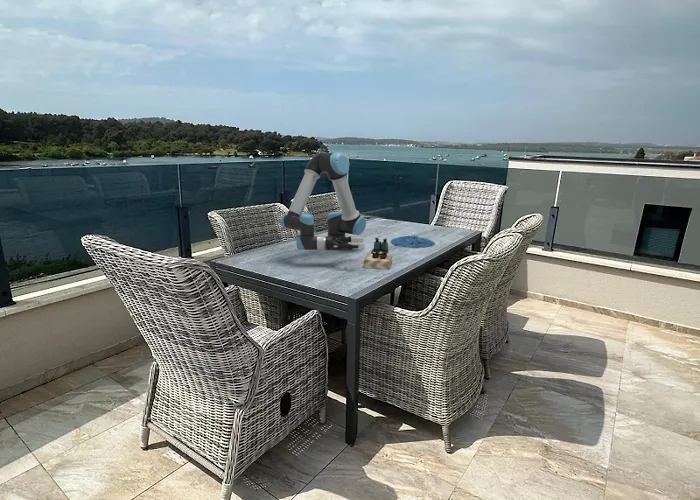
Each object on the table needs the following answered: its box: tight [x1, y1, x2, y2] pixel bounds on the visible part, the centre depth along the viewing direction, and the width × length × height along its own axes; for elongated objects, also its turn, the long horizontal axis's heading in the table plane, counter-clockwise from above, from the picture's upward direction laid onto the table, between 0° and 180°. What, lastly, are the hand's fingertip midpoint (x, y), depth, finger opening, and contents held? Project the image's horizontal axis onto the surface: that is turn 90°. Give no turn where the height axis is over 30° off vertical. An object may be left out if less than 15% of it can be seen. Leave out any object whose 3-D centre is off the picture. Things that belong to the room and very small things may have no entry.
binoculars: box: [370, 237, 390, 259], centre depth 208 cm, size 9×11×10 cm
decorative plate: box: [390, 234, 435, 249], centre depth 260 cm, size 30×30×5 cm
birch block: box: [363, 252, 393, 271], centre depth 211 cm, size 14×14×5 cm
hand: (363, 243), depth 207 cm, fingers open, 13 cm apart
